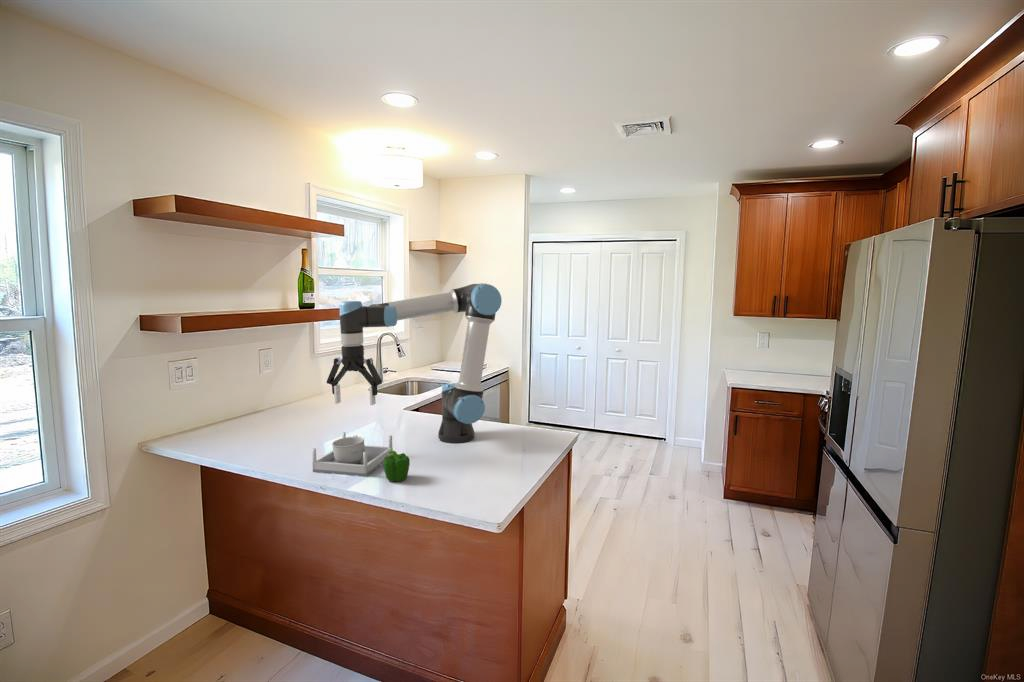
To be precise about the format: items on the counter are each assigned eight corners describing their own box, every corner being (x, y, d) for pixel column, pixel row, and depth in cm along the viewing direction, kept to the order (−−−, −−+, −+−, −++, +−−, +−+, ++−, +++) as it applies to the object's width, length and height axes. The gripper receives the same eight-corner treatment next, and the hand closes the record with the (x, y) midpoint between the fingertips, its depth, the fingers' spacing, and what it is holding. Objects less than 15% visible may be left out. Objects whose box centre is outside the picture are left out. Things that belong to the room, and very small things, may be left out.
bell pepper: (412, 474, 168) (411, 445, 167) (407, 484, 160) (407, 454, 159) (387, 474, 168) (386, 446, 166) (381, 484, 159) (380, 454, 158)
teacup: (355, 469, 170) (354, 446, 169) (326, 466, 172) (325, 444, 171) (374, 455, 183) (374, 434, 183) (347, 453, 186) (347, 432, 185)
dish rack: (393, 456, 185) (392, 435, 184) (366, 476, 166) (365, 453, 165) (343, 452, 190) (343, 432, 189) (312, 471, 170) (311, 449, 169)
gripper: (390, 344, 177) (392, 402, 179) (326, 343, 181) (329, 400, 184) (380, 346, 169) (383, 407, 172) (314, 345, 174) (317, 404, 176)
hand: (355, 403), depth 178 cm, fingers open, 13 cm apart
